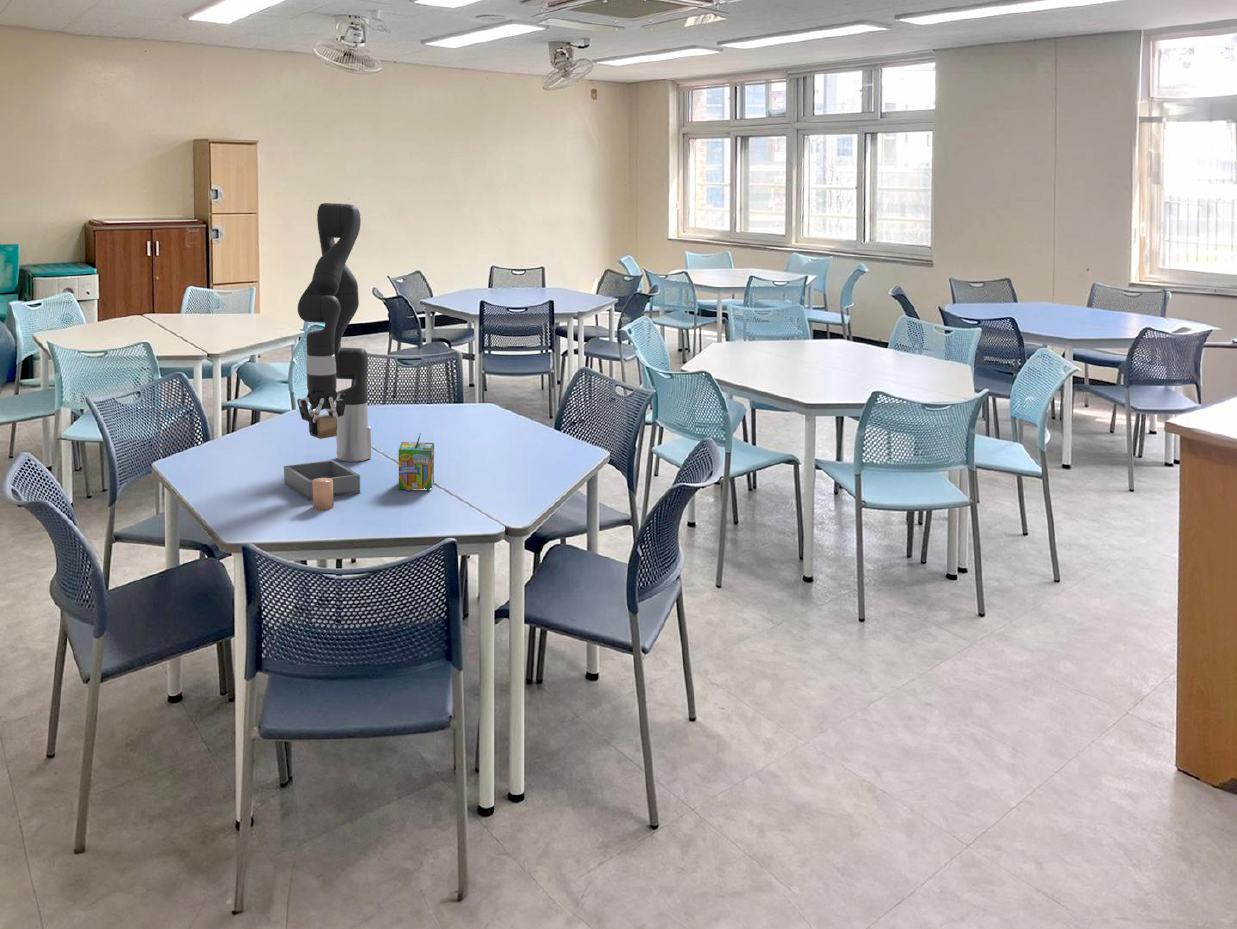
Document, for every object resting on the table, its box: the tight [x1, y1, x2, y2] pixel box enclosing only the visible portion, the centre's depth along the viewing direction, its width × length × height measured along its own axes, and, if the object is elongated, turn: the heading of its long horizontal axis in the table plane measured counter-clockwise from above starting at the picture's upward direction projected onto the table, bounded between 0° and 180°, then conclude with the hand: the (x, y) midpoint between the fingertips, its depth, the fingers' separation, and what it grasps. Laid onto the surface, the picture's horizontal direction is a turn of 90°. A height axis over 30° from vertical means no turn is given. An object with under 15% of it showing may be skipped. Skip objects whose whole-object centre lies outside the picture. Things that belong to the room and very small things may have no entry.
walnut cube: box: [309, 414, 337, 440], centre depth 284 cm, size 5×5×5 cm
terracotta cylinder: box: [312, 478, 335, 511], centre depth 270 cm, size 5×5×7 cm
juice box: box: [398, 432, 435, 491], centre depth 291 cm, size 9×9×15 cm
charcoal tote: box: [283, 459, 361, 501], centre depth 286 cm, size 14×18×5 cm
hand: (323, 433), depth 284 cm, fingers closed on walnut cube, 5 cm apart
